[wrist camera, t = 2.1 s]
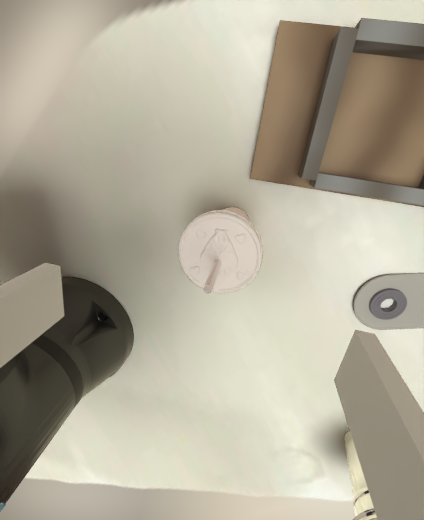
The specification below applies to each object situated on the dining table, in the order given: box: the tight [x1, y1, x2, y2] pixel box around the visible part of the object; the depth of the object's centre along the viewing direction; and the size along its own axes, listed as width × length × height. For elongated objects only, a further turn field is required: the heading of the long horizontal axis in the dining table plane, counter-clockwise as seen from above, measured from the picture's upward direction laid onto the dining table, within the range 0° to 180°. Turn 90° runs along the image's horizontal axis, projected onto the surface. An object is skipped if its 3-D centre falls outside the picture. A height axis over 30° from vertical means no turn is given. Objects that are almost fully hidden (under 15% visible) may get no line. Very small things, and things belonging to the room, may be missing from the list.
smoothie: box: [178, 207, 263, 293], centre depth 22 cm, size 6×6×14 cm
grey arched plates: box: [353, 273, 424, 330], centre depth 28 cm, size 7×10×4 cm, turn 97°
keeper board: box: [250, 18, 424, 207], centre depth 22 cm, size 20×12×4 cm, turn 82°
